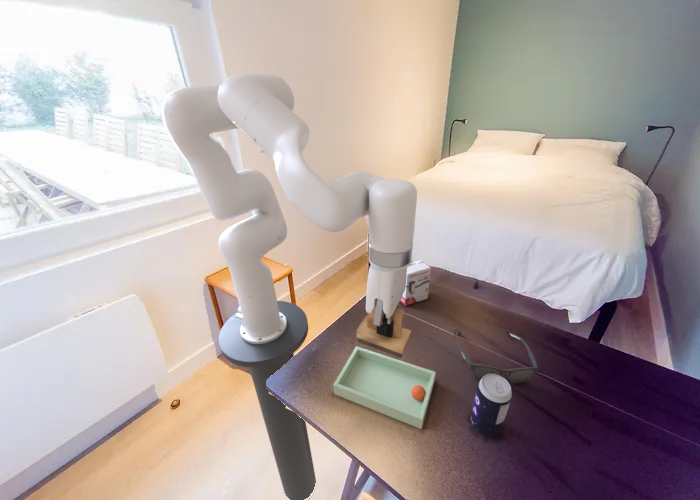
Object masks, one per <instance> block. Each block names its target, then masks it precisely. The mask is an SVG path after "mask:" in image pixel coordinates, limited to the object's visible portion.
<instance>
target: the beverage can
mask: <svg viewBox="0 0 700 500" xmlns="http://www.w3.org/2000/svg"><path fill="white" fill-rule="evenodd" d="M508 381H509V380H507V379H506V378H505V377H503V376H499V375H496V374H487V375H485V376H484V377H483V378H482V379H481V380H479V381H478V384H477V388H476V393H475V397H474V400H473V405H472V409H471V413H470V424H471V426H472V427H473V428H474V429H475V430H476V432H478V433H479V434H480V435H482V436H485V437H489V438H493V437H496V436H498V435H500V434H501V432H502V428H503V426H504V423H505V420H506V416H507V414H508V411H509V408H510V405H511V401H512V398H513V391H512V387H511V384H510V383H509V382H508Z"/></svg>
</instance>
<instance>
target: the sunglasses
mask: <svg viewBox="0 0 700 500" xmlns="http://www.w3.org/2000/svg"><path fill="white" fill-rule="evenodd" d="M458 334H459V330H456V332H455V339H456V342H457V346H458V349H459V351H460V352H459V353H460V355H461V357H462V358H463V359H464V361H465V362H466V364H467V366H468V367H469V369H471V372H472V373H473V376H474V378H475V379H477V380H479V381H480V380H481V379H482V378H483V377H484V376H485V375H487V374H496V375H499V376H501V377H503V375H504V373H506V376H507V379H508V381H509V382H510V383H512V384H522V383H526V382H527V381H529V380H530V379H532V378H533V376H534V375H535V374H536V373H537V372H538V370H539V366H538V363H537V361H536V358H535V356H534V353H533V352H532V351H533V350H532V349H531V347H530V346H529V344H528V343H527V341H526V340H524V339H523V338H522V337H520V336H519V335H517V334H514V333H513V332H508V334H509V335H510V336H511V338H514V339H517V340H519V341H520V342H521V343H523V345H524V347H525V348H526V351H527V353H528V357H529V360H530V361H531V363H532V366H527V367H526V366H525V367H524V366H523V367H515V368H500V367H496V366H493V365H487V364H481V363H475V362H474V363H473V362H472V360H471V359H470V358H469V356H468V355H467V353H466V352H465V351H464V348H463V347H462V344H461V343H460V340H459V338H458V337H459V336H458Z"/></svg>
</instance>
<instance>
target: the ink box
mask: <svg viewBox="0 0 700 500" xmlns="http://www.w3.org/2000/svg"><path fill="white" fill-rule="evenodd" d="M431 270H432V267H431V266H430V265H429V264H428V263H426V262H425V261H424V260H422V259H420V260H416V261H411V264H410V265H409V266H408V267H407V277H406V286H405V291H404V294H403V296H402V298H401V300H400V303H401V304H402V305H404V306H405V307H407V306H410V305H413V304H415V303H416V304H417V303H418V302H421V301H424V300H428V297H429V290H430V289H429V288H430V287H429V286H430V280H431V272H432V271H431Z"/></svg>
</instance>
